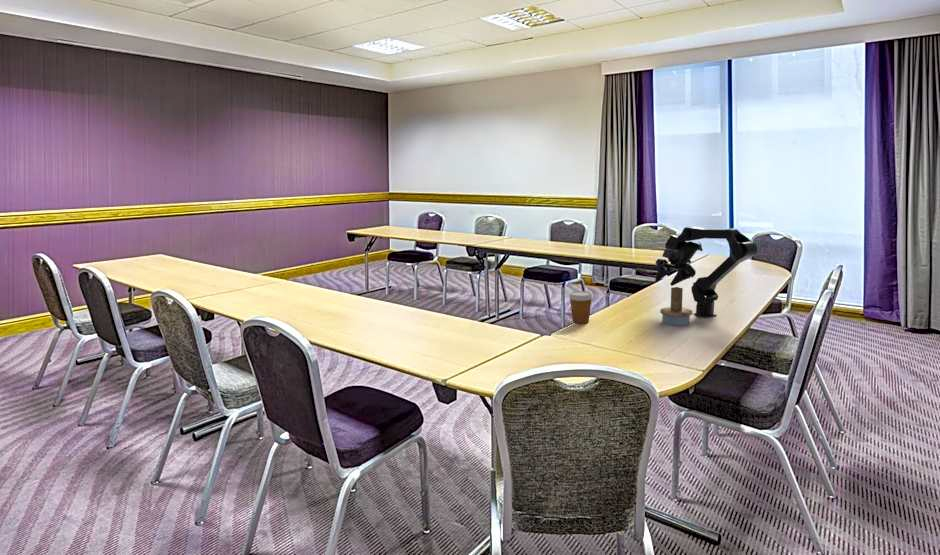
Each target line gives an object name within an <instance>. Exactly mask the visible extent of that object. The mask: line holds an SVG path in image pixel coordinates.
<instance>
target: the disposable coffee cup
mask: <svg viewBox="0 0 940 555" xmlns="http://www.w3.org/2000/svg"><path fill="white" fill-rule="evenodd" d="M593 298H594V296H593V294H592V292H590V291H584V290H579V291H578V290H577V291H576V290H575V291H571V292H570V293H569V295H568V299H569V301H570V303H569V304H570V310H571V315H572V319H571V320H572V323H574V324H576V325H585V324H589V321H590V314H591V306H592V299H593ZM577 323H578V324H577Z"/></svg>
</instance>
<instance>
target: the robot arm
mask: <svg viewBox="0 0 940 555" xmlns="http://www.w3.org/2000/svg"><path fill="white" fill-rule="evenodd" d="M703 239H716V240H717V239H718V240H719V239H720V240H723V239H724V240H726V241H727V244H728V247H729V248H730V249H731V250H730V254H729V256H728V257H727V258H726V259H725V260H724V261H722V263H721V264H720V265H719V266H717V267H716V268H715V269H714V270H713V271H712V272H711V273H710V274H709V275H707V276H701V277H698V278H697V279H696V281H695V282H692V285H691V294H692V298H693V301H694V302H696V306H695V308H696V309H695V312H694V313H693V315H694V316H698V317H701V318H704V319H705V318H712V317H717V316H718V315H717V314H716V313H715V301H718V298H719V295H718V293H717V292H716V291H715V289H716V287H717V284H719V283H720V281H722V280H723V279H724V278H725V277H726V276H727V275H728V274H730V272H732V271H733V270H734V269H735V268H736V267H738V265H740V264H741V263H742V262H745V261H747V260H749V259H751V258H752V257H754V256H755V255H757V253H758V246H757V244H756V243H755V242H753V241H752V240H751V239H750V238H749V237H747V236H746V235H744V234H742V233H741V232H740V230H739V229H737V228H735V227H734V228H705V227H702V226H697V225H696V226H695V225H694V226H686V227H683V229H682V231H681V233H679V235H678V236H677V235H675V234H671V235H669V238H668V239H667V240H666V242H665V245H664V246H665V249H664V251H663V253H662V257H663V258H666V259H663V258H657V259H656V261H655V265H656V267H657V272H656V277H655V280H654V281H655V283H658V282H660V281H661V280H662V279H663V278H664V277H665V276H667V275H668V274H669V272H670V271H672V270H675V271H677V272H676V274H675V275H674V277H673V279H672V280H671V282H670V285H669V286H675V285H677V284H679V283H681V282H683V281H686V280H688V279H691V278H694V277H695V276H696V270H695V268H694V267H693V265H691V263H692V258H693V256H694V255H695V254H696V253H697V251H699V252H703V251H704V250H703V249H704V248H703V246H702V243H701V242H700V241H699V242H695V241H698V240H703ZM693 241H694V242H693ZM669 262H670V263H669Z"/></svg>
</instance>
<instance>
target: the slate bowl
mask: <svg viewBox="0 0 940 555" xmlns="http://www.w3.org/2000/svg"><path fill="white" fill-rule="evenodd" d="M661 318H662V320H661V322H662V324H664V325H667V326H672V325H673V327H684V326H688V325H690V323H691V322H690V320H691V315H689V316H668V315H664V314H662V316H661Z"/></svg>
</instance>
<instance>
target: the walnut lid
mask: <svg viewBox="0 0 940 555" xmlns="http://www.w3.org/2000/svg"><path fill="white" fill-rule="evenodd" d="M670 290H671V291H670V307H663V308H660V310H659V313H660V314H664V315H668V316H689V315H690V316H692V315H693V310H692V309H689V308H685V307H683V292H684V291H683V287H678V286H674V287H671V289H670Z"/></svg>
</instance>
